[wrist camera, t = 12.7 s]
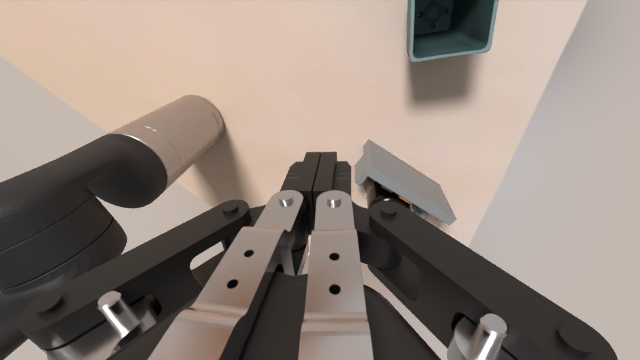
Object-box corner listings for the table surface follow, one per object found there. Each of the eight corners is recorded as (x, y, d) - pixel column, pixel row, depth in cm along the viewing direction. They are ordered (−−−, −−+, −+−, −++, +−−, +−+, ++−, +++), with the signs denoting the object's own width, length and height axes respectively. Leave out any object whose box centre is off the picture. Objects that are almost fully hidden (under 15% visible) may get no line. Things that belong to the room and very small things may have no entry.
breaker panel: (418, 203, 52) (430, 240, 44) (350, 162, 49) (349, 193, 41) (439, 184, 50) (456, 219, 41) (368, 139, 47) (372, 167, 38)
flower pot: (463, 44, 38) (491, 52, 30) (398, 53, 39) (409, 63, 32) (472, -35, 33) (507, -49, 26) (398, -21, 35) (411, -30, 27)
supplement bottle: (361, 173, 50) (362, 214, 40) (397, 162, 48) (409, 202, 38) (372, 201, 53) (376, 246, 43) (406, 192, 51) (419, 237, 41)
